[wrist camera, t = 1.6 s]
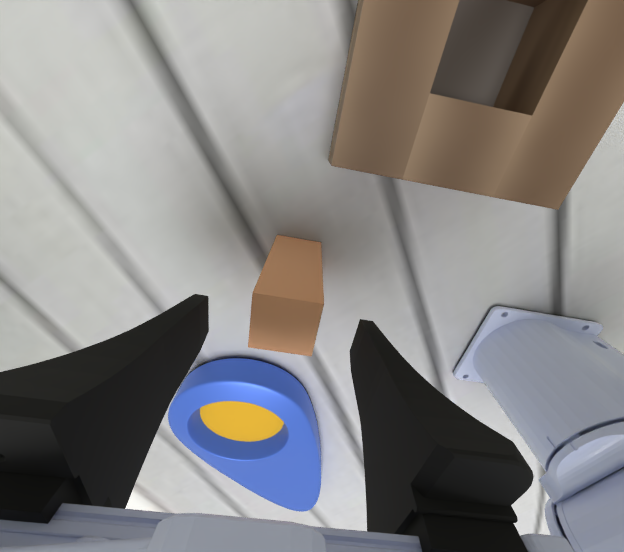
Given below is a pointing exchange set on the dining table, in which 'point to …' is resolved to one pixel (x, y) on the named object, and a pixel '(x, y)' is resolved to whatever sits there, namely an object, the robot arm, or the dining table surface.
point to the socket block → (480, 93)
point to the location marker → (252, 428)
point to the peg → (288, 298)
